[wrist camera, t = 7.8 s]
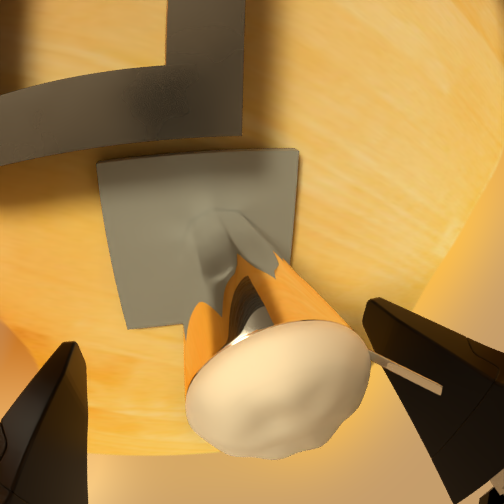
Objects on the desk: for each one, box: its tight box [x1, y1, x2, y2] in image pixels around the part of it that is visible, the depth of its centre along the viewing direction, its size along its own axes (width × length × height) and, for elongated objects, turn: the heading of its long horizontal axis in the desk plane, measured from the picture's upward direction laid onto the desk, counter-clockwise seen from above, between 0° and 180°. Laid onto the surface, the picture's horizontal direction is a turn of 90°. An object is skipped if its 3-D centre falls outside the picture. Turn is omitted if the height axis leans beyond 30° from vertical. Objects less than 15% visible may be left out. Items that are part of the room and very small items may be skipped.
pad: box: [96, 148, 299, 329], centre depth 14 cm, size 8×8×1 cm
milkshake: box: [181, 209, 443, 460], centre depth 10 cm, size 4×5×10 cm
